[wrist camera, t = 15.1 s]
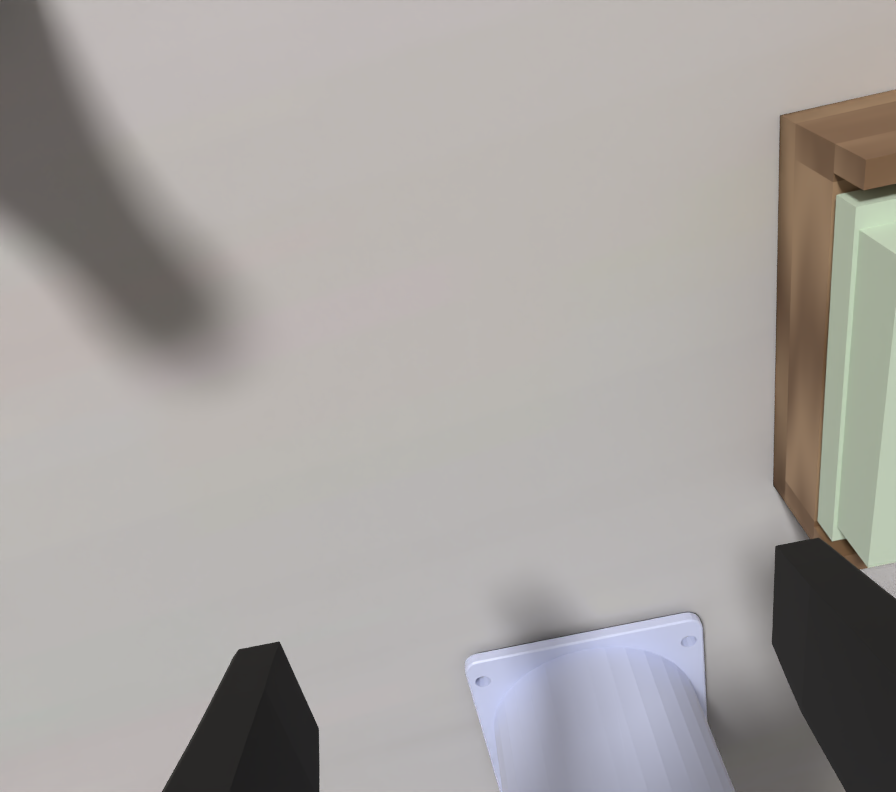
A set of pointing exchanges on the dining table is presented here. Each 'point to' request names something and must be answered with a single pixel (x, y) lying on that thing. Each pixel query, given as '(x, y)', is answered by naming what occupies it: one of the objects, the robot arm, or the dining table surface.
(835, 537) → the sage lid
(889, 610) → the robot arm
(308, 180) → the dining table surface
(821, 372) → the walnut box
